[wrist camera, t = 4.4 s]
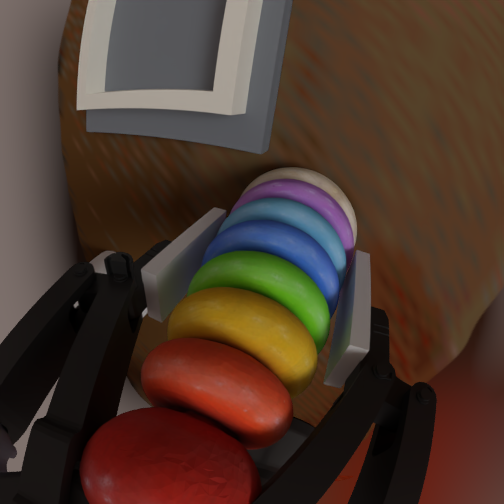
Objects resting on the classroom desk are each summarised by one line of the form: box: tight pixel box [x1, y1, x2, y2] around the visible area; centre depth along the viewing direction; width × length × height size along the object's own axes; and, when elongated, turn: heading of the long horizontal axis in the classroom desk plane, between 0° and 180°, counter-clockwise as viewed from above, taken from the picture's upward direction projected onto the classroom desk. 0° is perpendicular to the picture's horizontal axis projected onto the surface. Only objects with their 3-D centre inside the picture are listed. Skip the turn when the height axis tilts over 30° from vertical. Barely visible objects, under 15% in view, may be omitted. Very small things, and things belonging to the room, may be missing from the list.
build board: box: [77, 0, 293, 154], centre depth 12 cm, size 18×16×4 cm
